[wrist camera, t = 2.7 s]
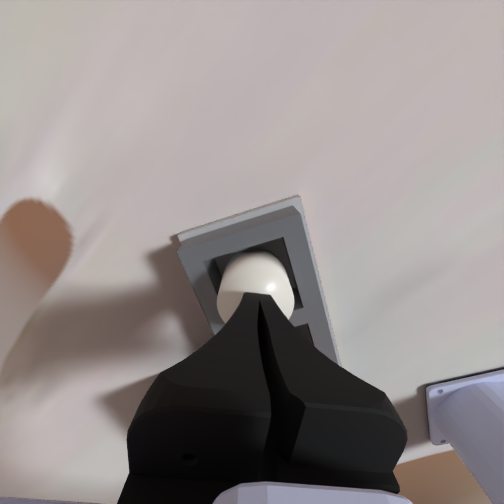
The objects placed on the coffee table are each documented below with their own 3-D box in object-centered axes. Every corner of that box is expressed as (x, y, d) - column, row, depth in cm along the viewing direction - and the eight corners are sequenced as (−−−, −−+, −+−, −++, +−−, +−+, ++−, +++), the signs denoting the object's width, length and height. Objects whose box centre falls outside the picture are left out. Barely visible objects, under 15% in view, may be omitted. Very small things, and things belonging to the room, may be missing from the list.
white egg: (276, 240, 14) (282, 258, 11) (293, 295, 15) (302, 324, 13) (214, 259, 15) (205, 281, 12) (235, 311, 16) (231, 343, 13)
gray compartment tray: (297, 194, 16) (309, 202, 12) (348, 399, 22) (364, 439, 19) (180, 232, 16) (163, 248, 13) (262, 418, 23) (263, 459, 20)
